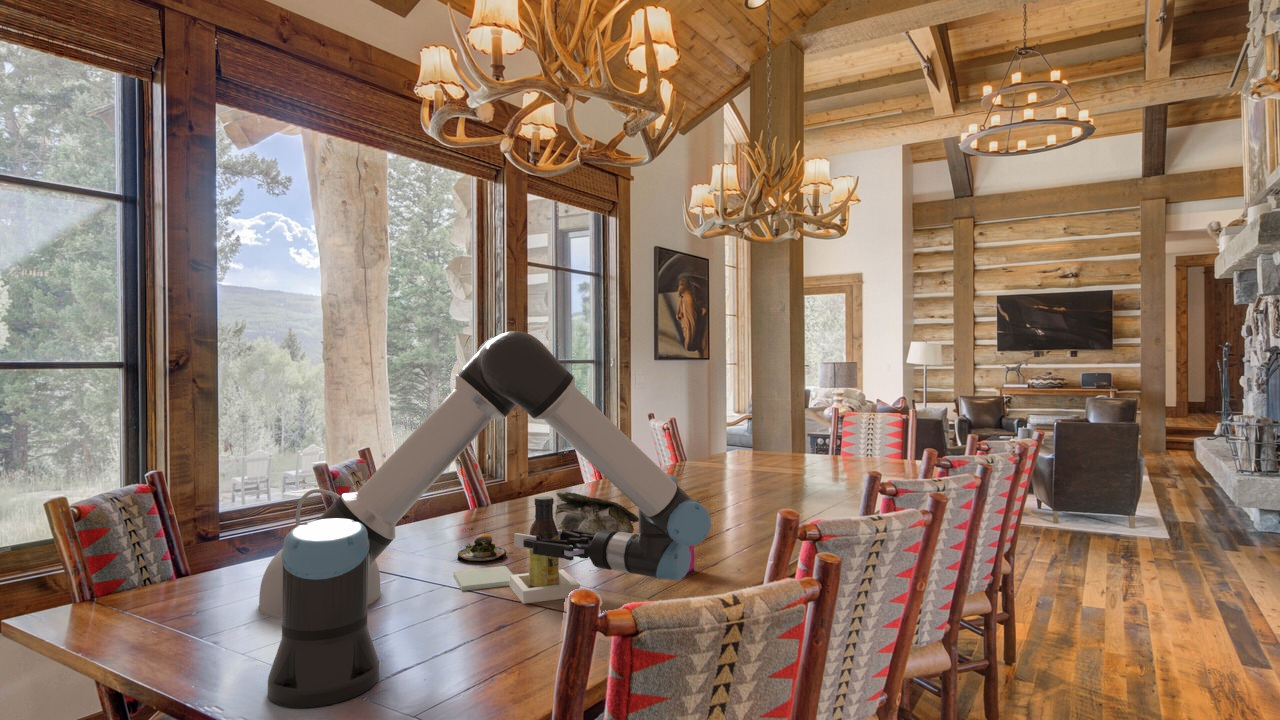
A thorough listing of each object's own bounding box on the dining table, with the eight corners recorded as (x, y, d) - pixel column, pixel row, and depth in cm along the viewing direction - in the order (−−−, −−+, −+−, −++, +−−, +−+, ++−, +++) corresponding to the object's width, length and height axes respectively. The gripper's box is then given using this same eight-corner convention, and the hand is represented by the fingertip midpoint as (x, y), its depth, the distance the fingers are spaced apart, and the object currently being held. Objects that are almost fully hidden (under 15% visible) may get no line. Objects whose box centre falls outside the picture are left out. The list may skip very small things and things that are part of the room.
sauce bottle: (553, 597, 144) (552, 501, 144) (524, 595, 146) (524, 500, 146) (562, 587, 151) (562, 495, 151) (535, 585, 152) (535, 494, 152)
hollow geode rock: (558, 547, 204) (528, 515, 197) (581, 512, 211) (554, 479, 204) (625, 563, 184) (595, 527, 177) (648, 524, 191) (620, 488, 184)
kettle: (411, 595, 145) (412, 487, 146) (312, 630, 126) (314, 505, 126) (335, 577, 158) (336, 477, 158) (234, 606, 139) (236, 492, 139)
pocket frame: (523, 603, 140) (523, 591, 140) (509, 586, 151) (509, 575, 151) (579, 596, 145) (579, 584, 145) (562, 580, 156) (562, 569, 156)
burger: (448, 562, 171) (448, 532, 171) (474, 551, 182) (474, 522, 182) (490, 567, 167) (491, 536, 167) (515, 555, 178) (515, 525, 178)
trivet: (462, 591, 148) (462, 586, 148) (453, 575, 159) (453, 571, 159) (517, 584, 153) (517, 579, 153) (505, 569, 164) (505, 565, 164)
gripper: (587, 582, 131) (495, 564, 143) (639, 558, 147) (552, 544, 159) (588, 542, 131) (495, 527, 143) (640, 523, 147) (553, 511, 159)
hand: (525, 536), depth 151 cm, fingers closed on sauce bottle, 6 cm apart
